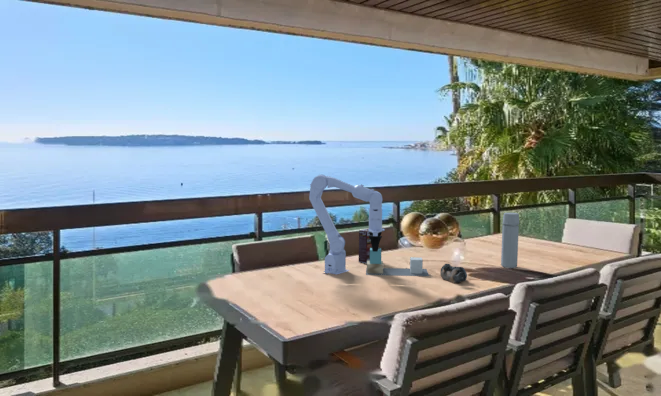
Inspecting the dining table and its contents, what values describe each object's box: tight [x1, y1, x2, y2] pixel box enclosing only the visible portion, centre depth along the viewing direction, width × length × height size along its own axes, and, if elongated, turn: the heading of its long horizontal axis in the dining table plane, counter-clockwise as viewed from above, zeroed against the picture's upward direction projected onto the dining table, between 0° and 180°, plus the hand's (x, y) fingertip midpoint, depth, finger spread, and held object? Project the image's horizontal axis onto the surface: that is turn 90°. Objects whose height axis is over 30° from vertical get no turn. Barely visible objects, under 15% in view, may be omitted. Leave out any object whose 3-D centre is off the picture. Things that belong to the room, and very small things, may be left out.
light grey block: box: [409, 256, 424, 274], centre depth 222 cm, size 5×5×6 cm
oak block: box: [366, 260, 384, 274], centre depth 223 cm, size 7×7×4 cm
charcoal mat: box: [365, 267, 430, 277], centre depth 223 cm, size 27×13×1 cm, turn 85°
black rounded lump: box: [440, 263, 468, 284], centre depth 208 cm, size 12×7×10 cm
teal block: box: [370, 247, 382, 264], centre depth 223 cm, size 5×5×6 cm
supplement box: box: [358, 227, 372, 264], centre depth 243 cm, size 9×5×16 cm, turn 143°
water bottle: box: [500, 212, 520, 269], centre depth 234 cm, size 9×8×25 cm
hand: (375, 249), depth 222 cm, fingers open, 7 cm apart
